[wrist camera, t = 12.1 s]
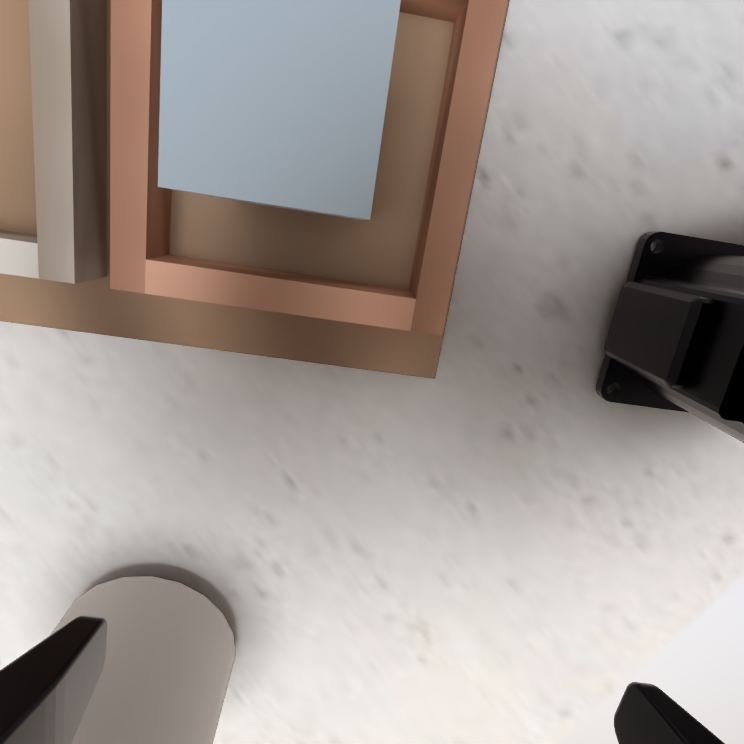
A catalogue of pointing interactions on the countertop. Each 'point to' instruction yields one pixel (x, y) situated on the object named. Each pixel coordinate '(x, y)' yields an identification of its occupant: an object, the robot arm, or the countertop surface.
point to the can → (156, 663)
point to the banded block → (276, 100)
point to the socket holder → (224, 216)
